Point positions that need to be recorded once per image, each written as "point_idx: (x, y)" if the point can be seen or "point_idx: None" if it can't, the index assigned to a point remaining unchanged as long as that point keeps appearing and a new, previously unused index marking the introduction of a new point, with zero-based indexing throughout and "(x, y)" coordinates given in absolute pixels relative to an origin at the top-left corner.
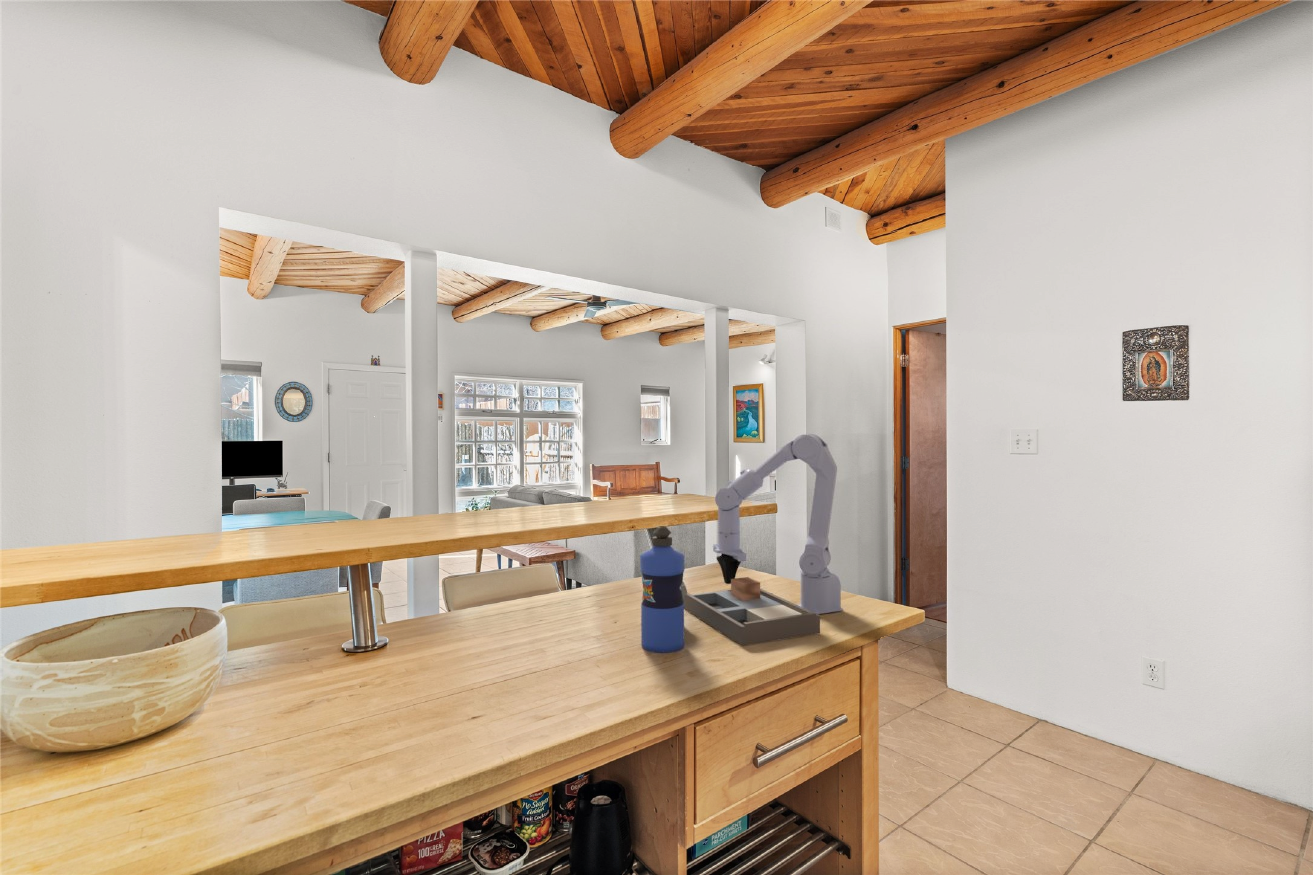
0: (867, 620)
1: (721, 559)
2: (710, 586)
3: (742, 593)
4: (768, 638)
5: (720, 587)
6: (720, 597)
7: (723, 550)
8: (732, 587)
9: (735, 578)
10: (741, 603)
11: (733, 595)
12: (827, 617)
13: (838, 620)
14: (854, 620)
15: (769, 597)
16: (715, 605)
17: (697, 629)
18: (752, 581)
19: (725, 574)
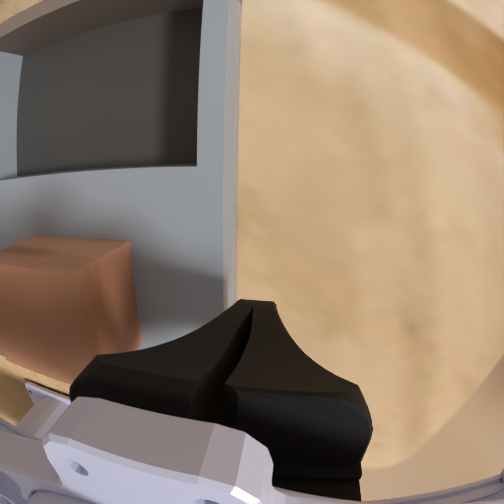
0: (13, 424)
1: (149, 375)
2: (497, 313)
3: (13, 245)
4: None
5: (461, 346)
6: (135, 167)
7: (57, 497)
8: (88, 253)
9: (80, 310)
10: (6, 205)
11: (104, 239)
12: (21, 393)
13: (7, 392)
14: (10, 411)
15: None
16: (175, 144)
17: (12, 10)
18: (17, 344)
19: (219, 321)
